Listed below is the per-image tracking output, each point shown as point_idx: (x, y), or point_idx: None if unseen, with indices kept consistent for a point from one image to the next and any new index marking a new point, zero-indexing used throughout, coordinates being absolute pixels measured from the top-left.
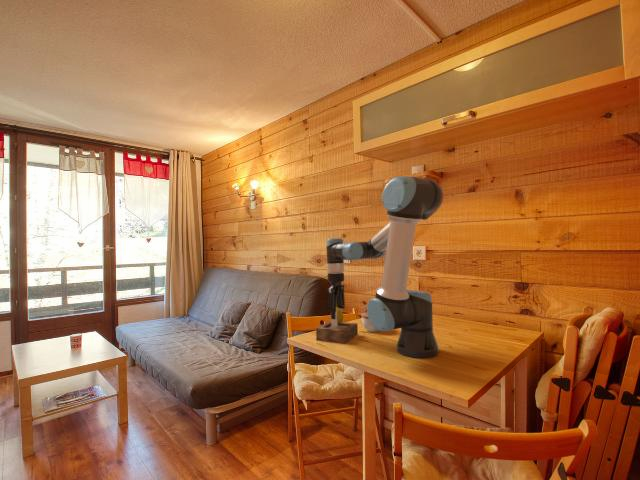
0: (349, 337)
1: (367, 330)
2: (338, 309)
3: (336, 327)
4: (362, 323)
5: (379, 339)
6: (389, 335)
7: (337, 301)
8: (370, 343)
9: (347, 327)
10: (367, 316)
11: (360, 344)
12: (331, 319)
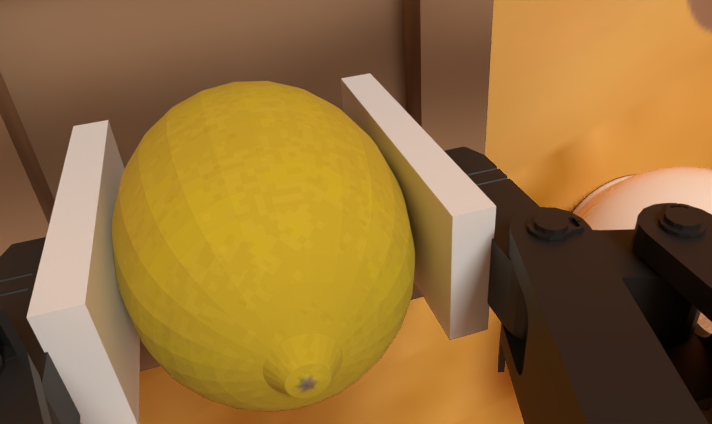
0: None
1: (579, 211)
2: (260, 408)
3: (275, 76)
4: (631, 204)
5: (364, 401)
6: (496, 391)
7: (568, 409)
8: (222, 417)
9: None
10: None
11: (141, 386)
12: (63, 198)
